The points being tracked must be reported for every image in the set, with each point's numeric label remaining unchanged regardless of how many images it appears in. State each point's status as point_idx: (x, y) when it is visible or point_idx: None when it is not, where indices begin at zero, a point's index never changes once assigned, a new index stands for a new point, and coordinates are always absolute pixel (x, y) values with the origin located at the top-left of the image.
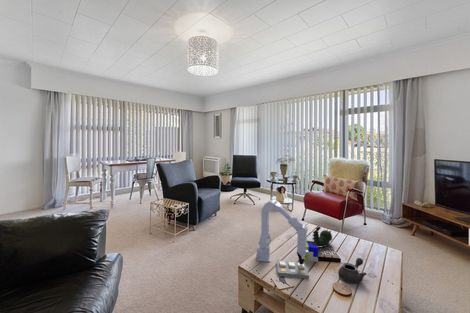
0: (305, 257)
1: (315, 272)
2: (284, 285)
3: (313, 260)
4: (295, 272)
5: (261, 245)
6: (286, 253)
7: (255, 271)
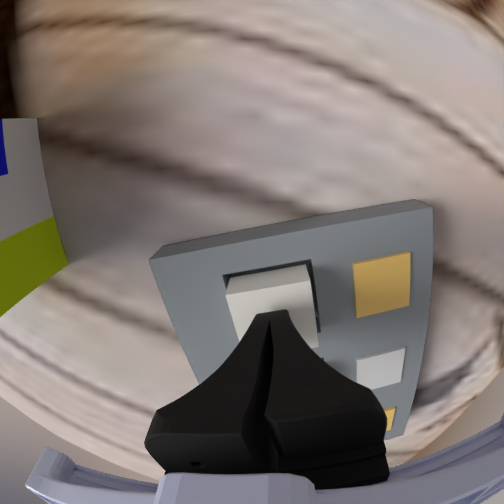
0: (358, 385)
1: (263, 114)
2: (485, 363)
3: (37, 161)
4: (404, 347)
5: None
6: (73, 384)
7: None
